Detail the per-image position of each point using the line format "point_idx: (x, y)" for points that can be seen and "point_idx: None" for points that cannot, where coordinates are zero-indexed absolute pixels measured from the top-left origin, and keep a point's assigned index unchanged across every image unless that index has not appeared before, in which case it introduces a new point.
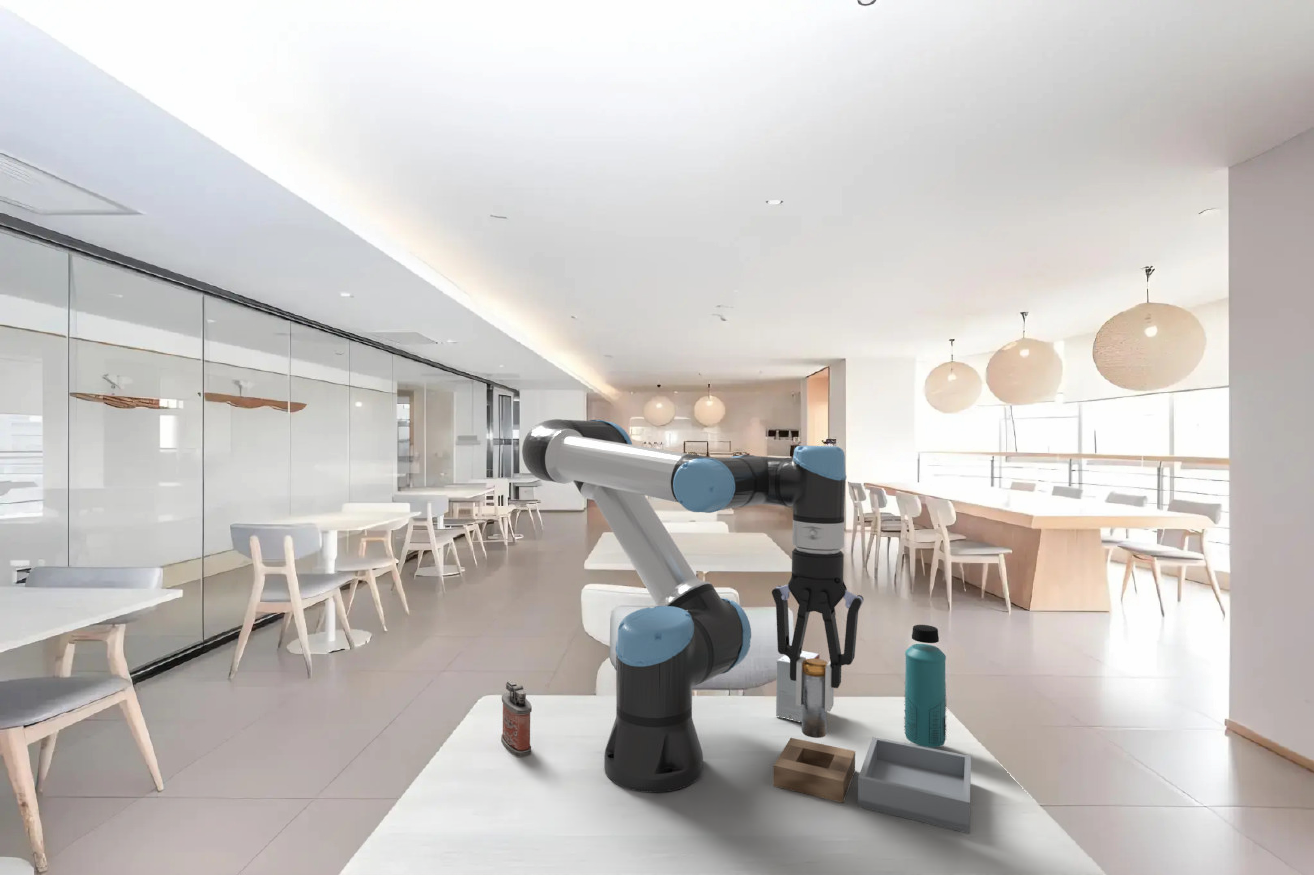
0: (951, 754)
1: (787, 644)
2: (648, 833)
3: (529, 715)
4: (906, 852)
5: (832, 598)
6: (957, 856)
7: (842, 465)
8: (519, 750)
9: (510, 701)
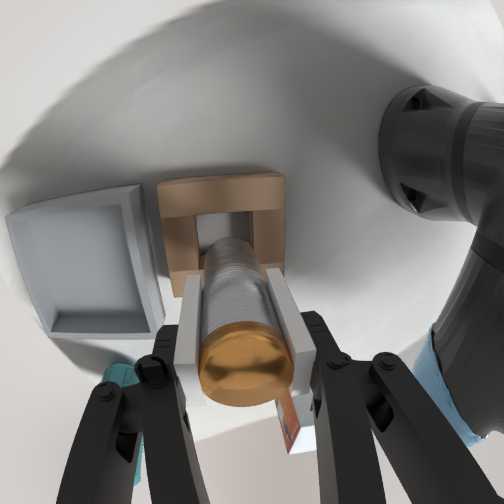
0: (62, 332)
1: (370, 403)
2: (373, 11)
3: None
4: (68, 115)
5: None
6: (27, 148)
7: None
8: None
9: None
